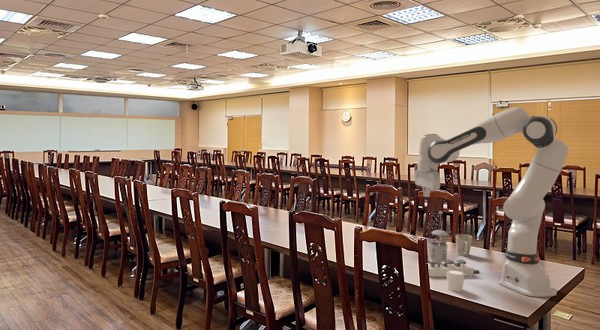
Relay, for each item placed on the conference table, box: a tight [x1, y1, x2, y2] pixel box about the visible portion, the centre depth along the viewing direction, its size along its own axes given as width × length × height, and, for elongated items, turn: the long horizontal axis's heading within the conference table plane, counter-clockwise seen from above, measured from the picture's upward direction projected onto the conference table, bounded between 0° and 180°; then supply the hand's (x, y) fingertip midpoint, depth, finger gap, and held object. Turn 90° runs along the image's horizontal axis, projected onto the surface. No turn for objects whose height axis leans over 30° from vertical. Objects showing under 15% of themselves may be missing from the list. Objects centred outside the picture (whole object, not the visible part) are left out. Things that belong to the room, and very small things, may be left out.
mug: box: [455, 233, 473, 257], centre depth 232 cm, size 8×13×10 cm, turn 174°
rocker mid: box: [440, 259, 454, 267], centre depth 199 cm, size 3×5×1 cm
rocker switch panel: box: [427, 261, 480, 278], centre depth 200 cm, size 8×27×5 cm, turn 99°
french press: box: [428, 210, 449, 263], centre depth 221 cm, size 10×12×25 cm
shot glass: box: [446, 270, 465, 293], centre depth 178 cm, size 7×7×7 cm
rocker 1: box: [427, 259, 440, 266], centre depth 198 cm, size 3×5×1 cm
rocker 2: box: [453, 259, 467, 266], centre depth 200 cm, size 3×5×1 cm
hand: (426, 196), depth 210 cm, fingers closed
